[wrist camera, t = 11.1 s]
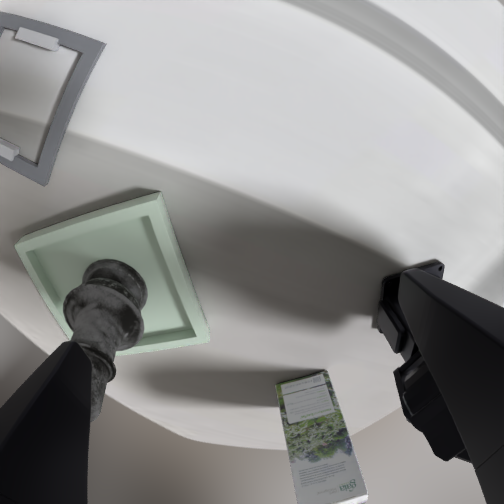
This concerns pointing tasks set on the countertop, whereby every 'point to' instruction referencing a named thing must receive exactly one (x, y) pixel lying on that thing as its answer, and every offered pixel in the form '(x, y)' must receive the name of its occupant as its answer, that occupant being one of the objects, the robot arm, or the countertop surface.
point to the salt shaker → (106, 318)
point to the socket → (91, 51)
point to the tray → (130, 252)
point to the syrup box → (319, 443)
